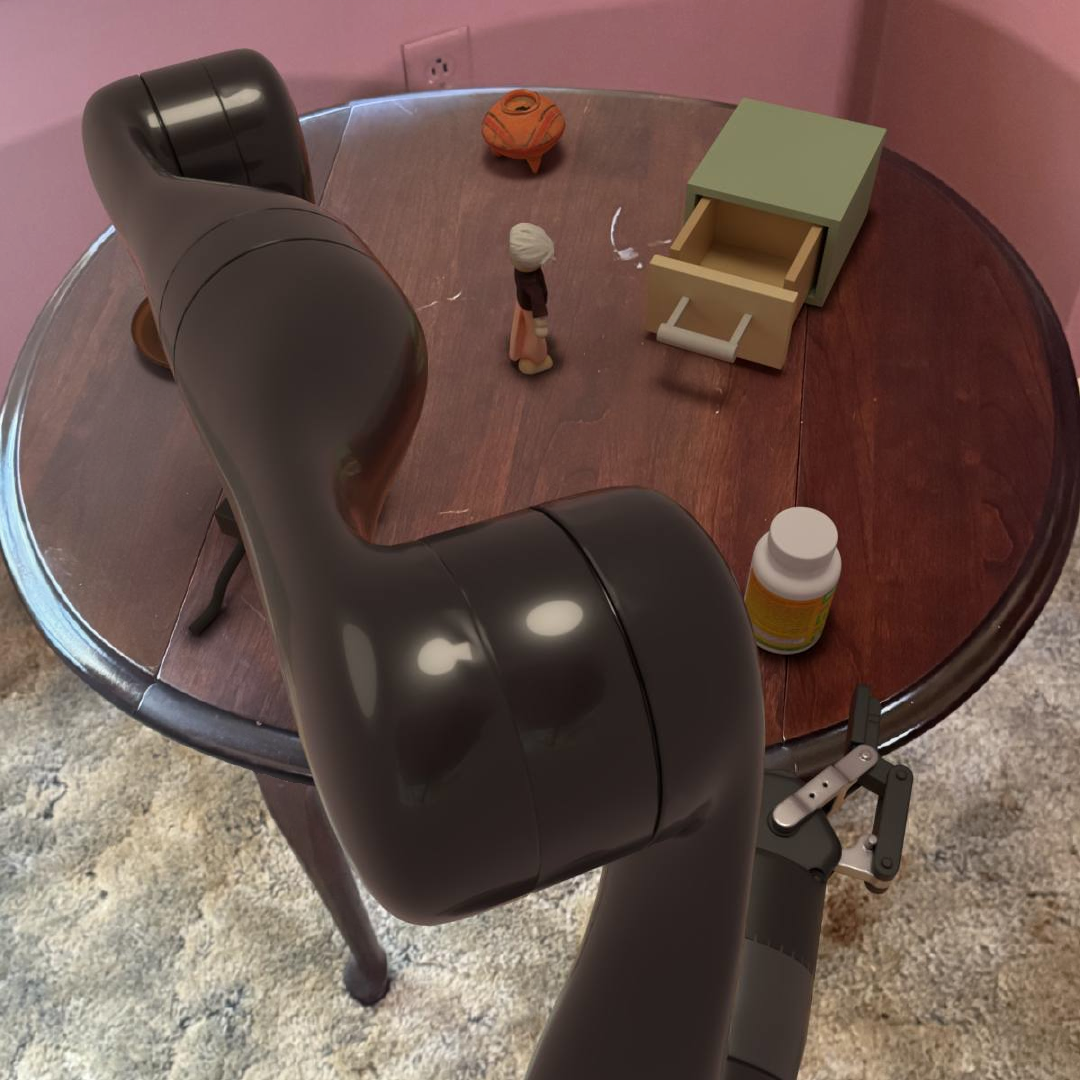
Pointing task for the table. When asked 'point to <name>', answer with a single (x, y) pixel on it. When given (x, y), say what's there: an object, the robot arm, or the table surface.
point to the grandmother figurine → (530, 297)
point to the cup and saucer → (147, 334)
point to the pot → (523, 126)
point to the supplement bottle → (793, 580)
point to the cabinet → (794, 174)
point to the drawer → (734, 282)
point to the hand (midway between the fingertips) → (780, 673)
